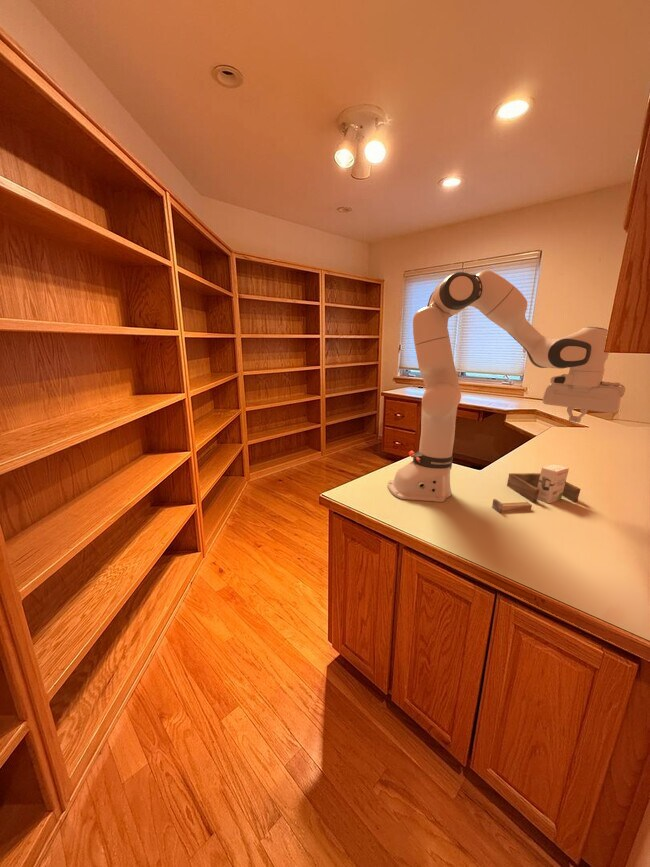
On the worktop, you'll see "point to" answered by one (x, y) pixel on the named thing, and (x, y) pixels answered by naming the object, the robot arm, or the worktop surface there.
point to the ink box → (552, 483)
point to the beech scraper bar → (510, 506)
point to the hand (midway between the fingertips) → (574, 421)
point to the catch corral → (529, 482)
